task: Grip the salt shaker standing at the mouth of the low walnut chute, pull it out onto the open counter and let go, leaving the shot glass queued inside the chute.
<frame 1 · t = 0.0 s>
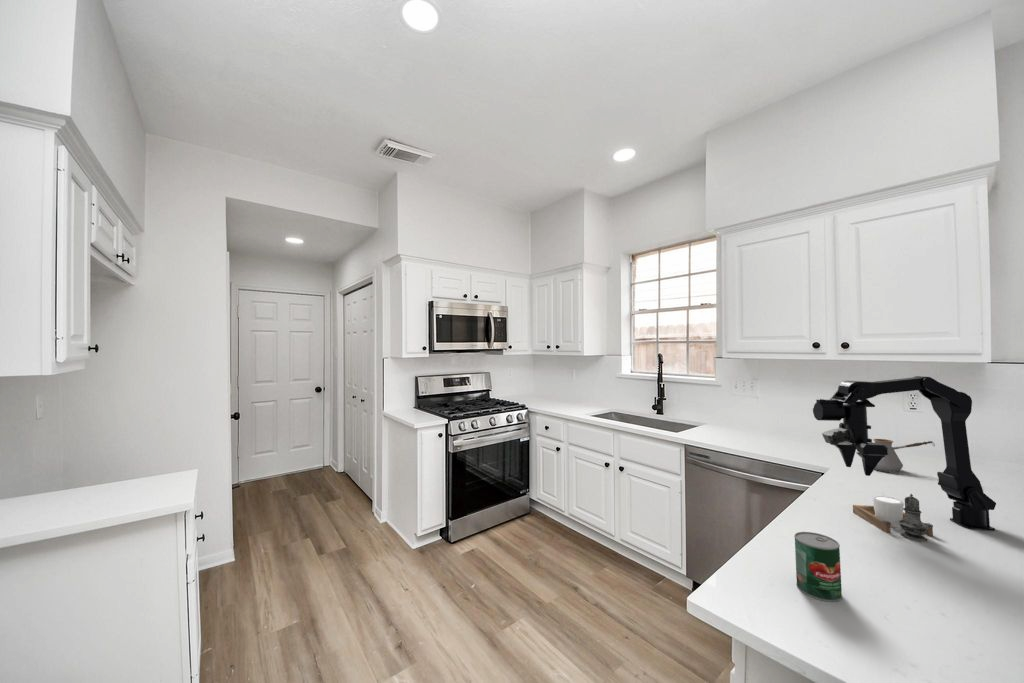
hand: (857, 471, 122), 15 cm above the countertop, fingers open, 9 cm apart
coffee pot: (900, 473, 166), on the countertop
shot glass: (889, 523, 118), resting in chute
salt shaker: (913, 538, 109), on the countertop
chute: (891, 524, 117), on the countertop
canned tomato: (818, 591, 85), on the countertop
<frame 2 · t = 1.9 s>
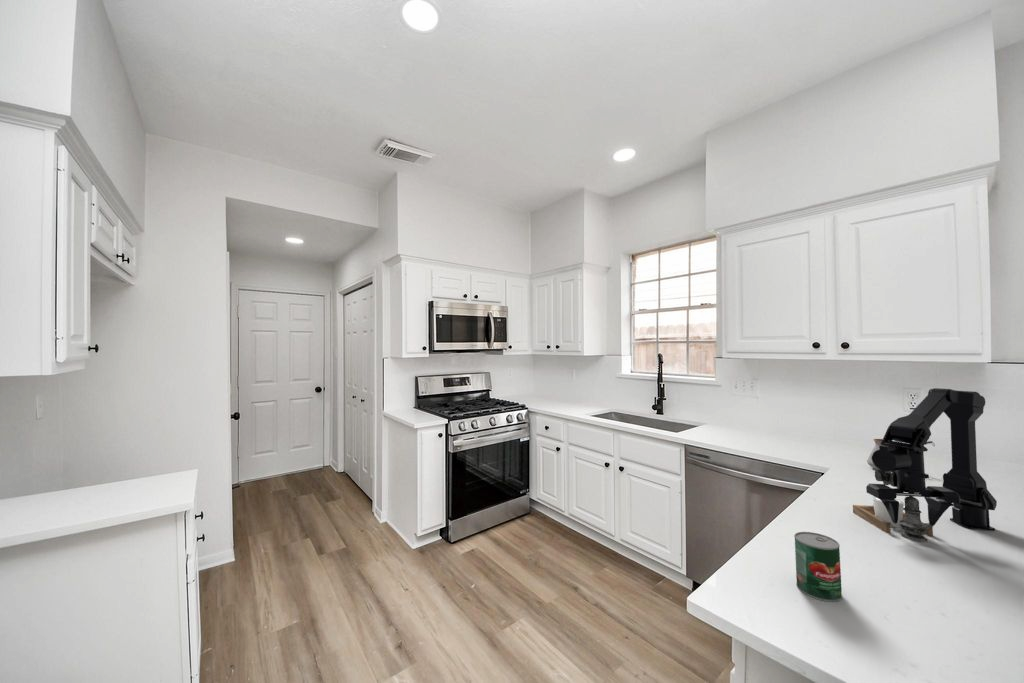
hand: (913, 524, 109), 4 cm above the countertop, fingers closed on salt shaker, 8 cm apart
salt shaker: (913, 537, 109), on the countertop, touching gripper
everything else where it was.
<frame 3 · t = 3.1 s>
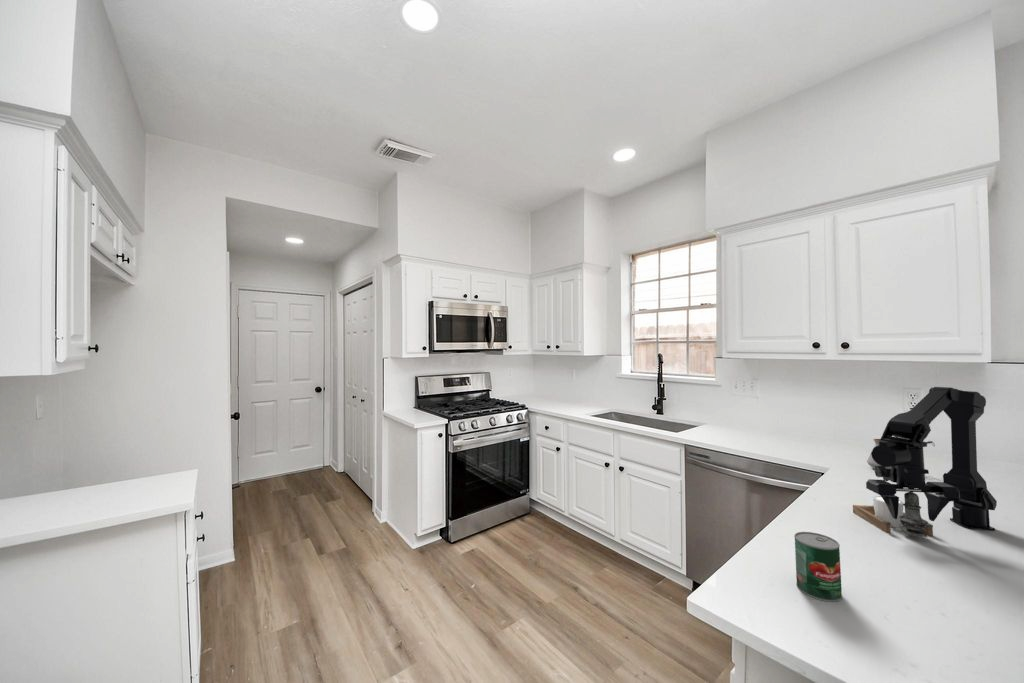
hand: (913, 519, 109), 5 cm above the countertop, fingers closed on salt shaker, 8 cm apart
salt shaker: (913, 533, 109), point 1 cm above the countertop, touching gripper
everything else where it was.
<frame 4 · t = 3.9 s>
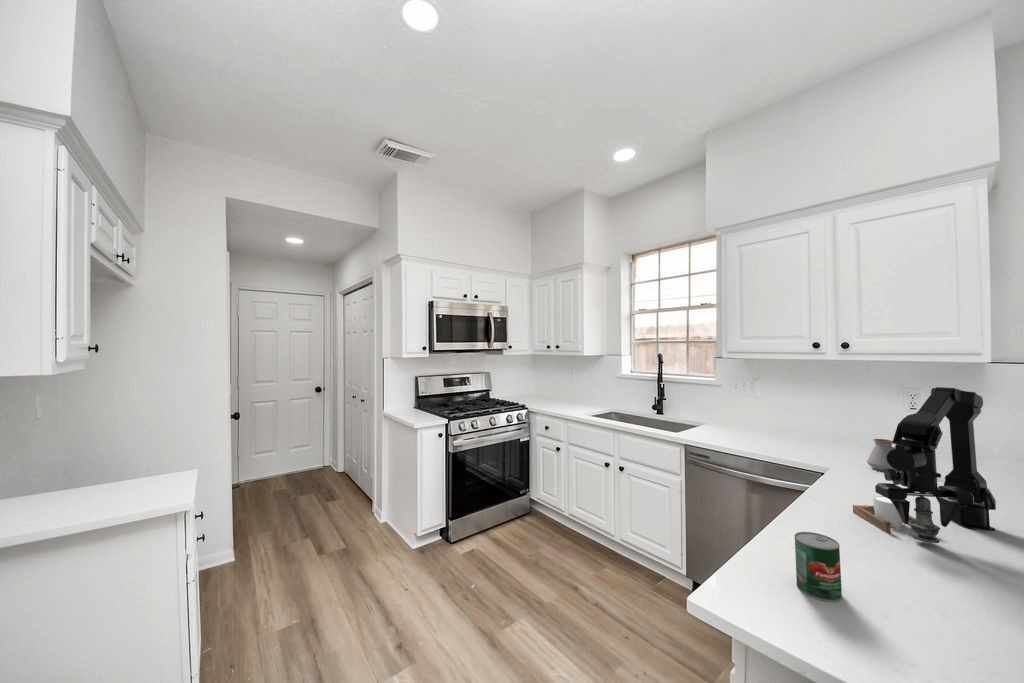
hand: (924, 525, 105), 5 cm above the countertop, fingers closed on salt shaker, 8 cm apart
salt shaker: (925, 539, 105), point 1 cm above the countertop, touching gripper
everything else where it was.
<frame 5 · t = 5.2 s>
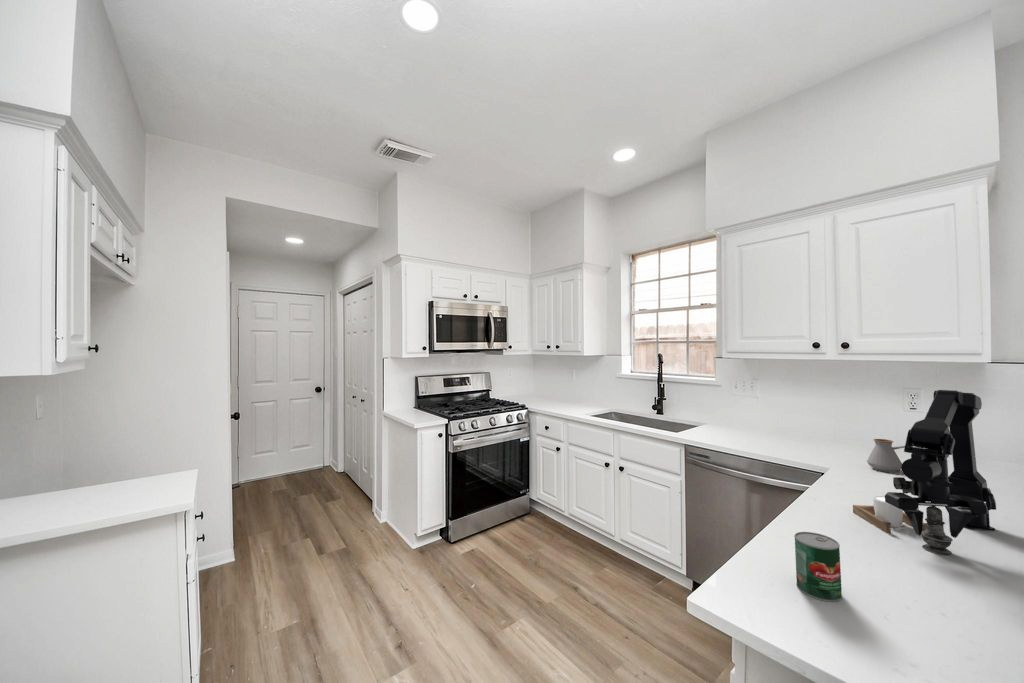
hand: (935, 535, 101), 4 cm above the countertop, fingers closed on salt shaker, 7 cm apart
salt shaker: (936, 550, 101), on the countertop, touching gripper
everything else where it was.
when the fingers open (4 cm above the countertop, at t = 5.9 s): salt shaker stays where it is, on the countertop.
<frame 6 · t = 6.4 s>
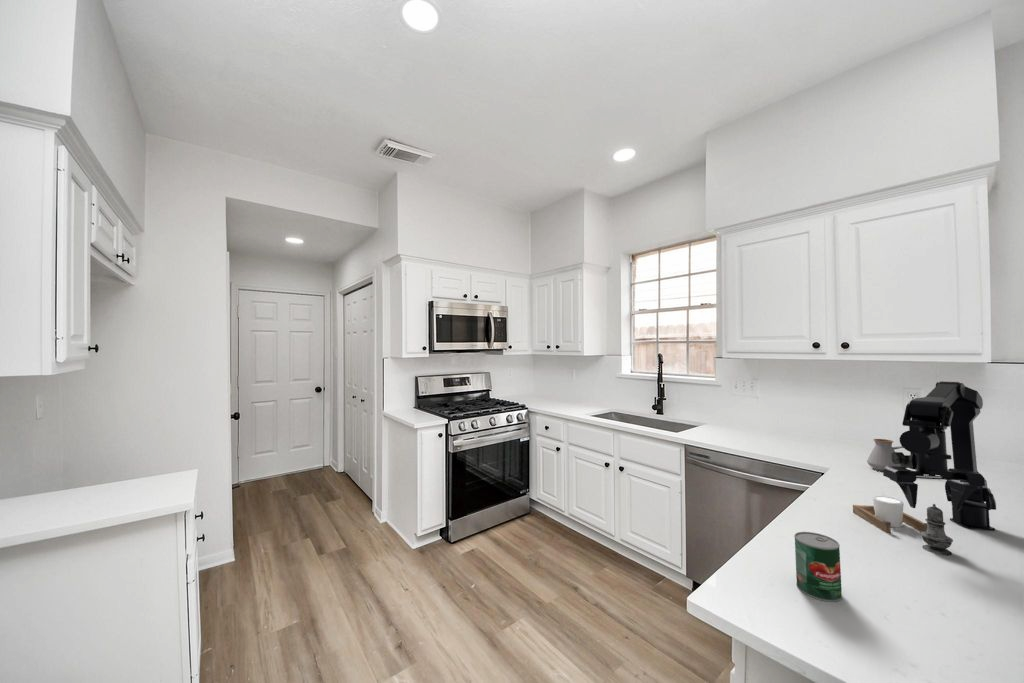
hand: (933, 508, 102), 11 cm above the countertop, fingers open, 9 cm apart
salt shaker: (937, 551, 101), on the countertop
everything else where it was.
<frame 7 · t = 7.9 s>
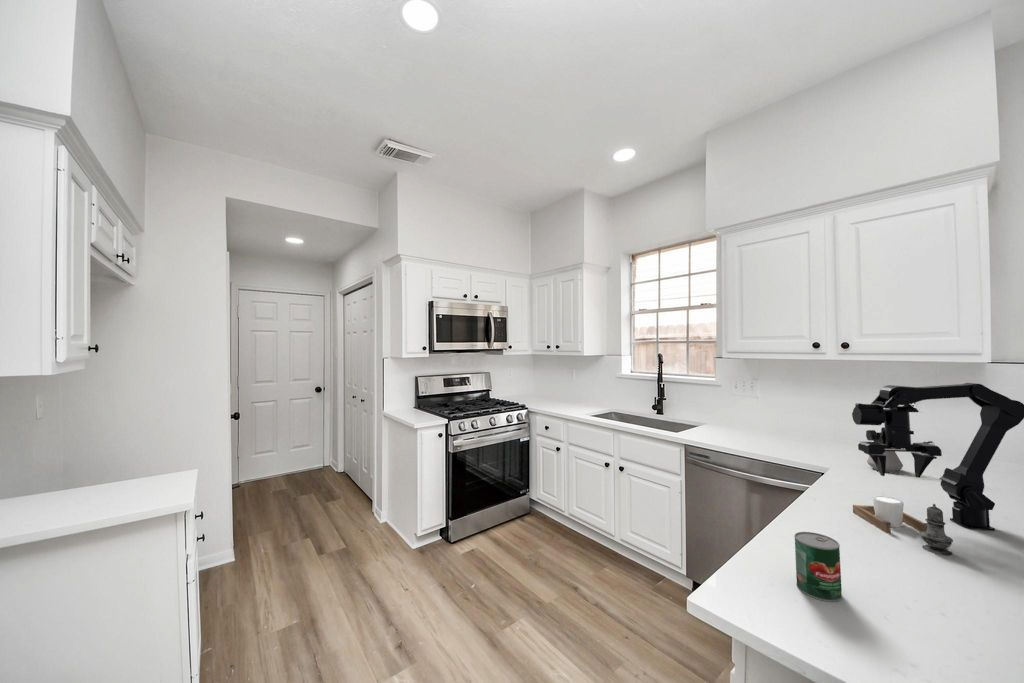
hand: (899, 476, 121), 13 cm above the countertop, fingers open, 9 cm apart
nothing on the countertop moved.
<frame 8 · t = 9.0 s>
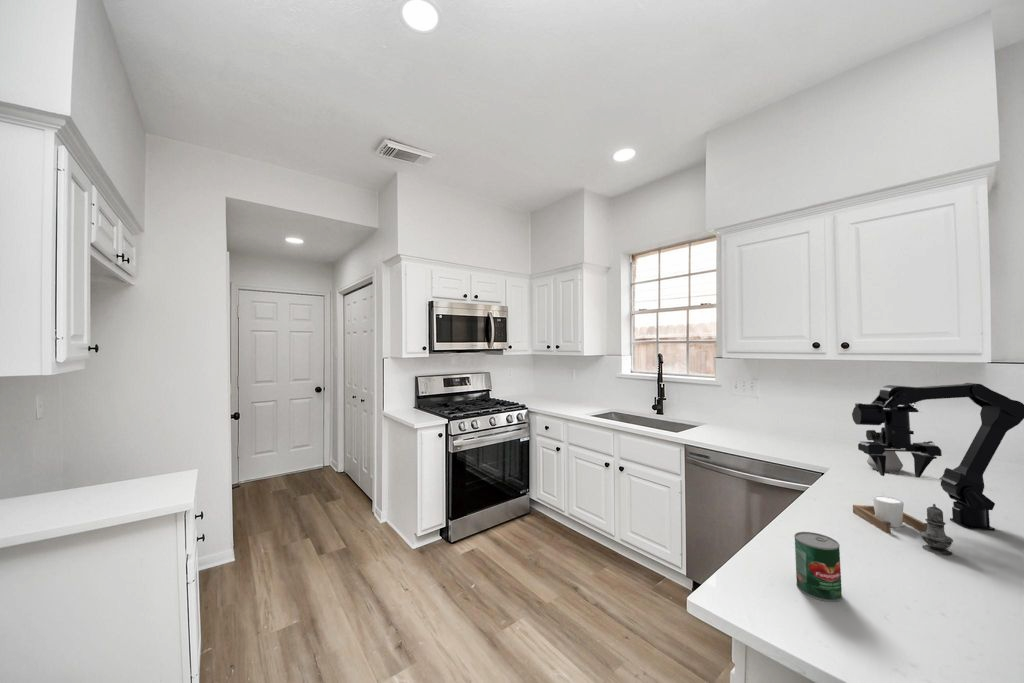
hand: (899, 476, 121), 13 cm above the countertop, fingers open, 9 cm apart
nothing on the countertop moved.
at the end: salt shaker inside the target area (0.5 cm from its centre), on the countertop; salt shaker tilted 0°; the gripper is holding nothing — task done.
